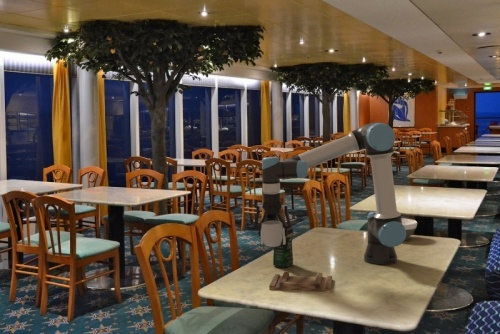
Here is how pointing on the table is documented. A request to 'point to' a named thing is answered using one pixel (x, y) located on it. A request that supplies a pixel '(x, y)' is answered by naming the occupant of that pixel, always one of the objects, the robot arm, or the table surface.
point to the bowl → (409, 227)
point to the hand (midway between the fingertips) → (273, 243)
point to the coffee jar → (284, 252)
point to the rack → (301, 283)
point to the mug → (272, 233)
